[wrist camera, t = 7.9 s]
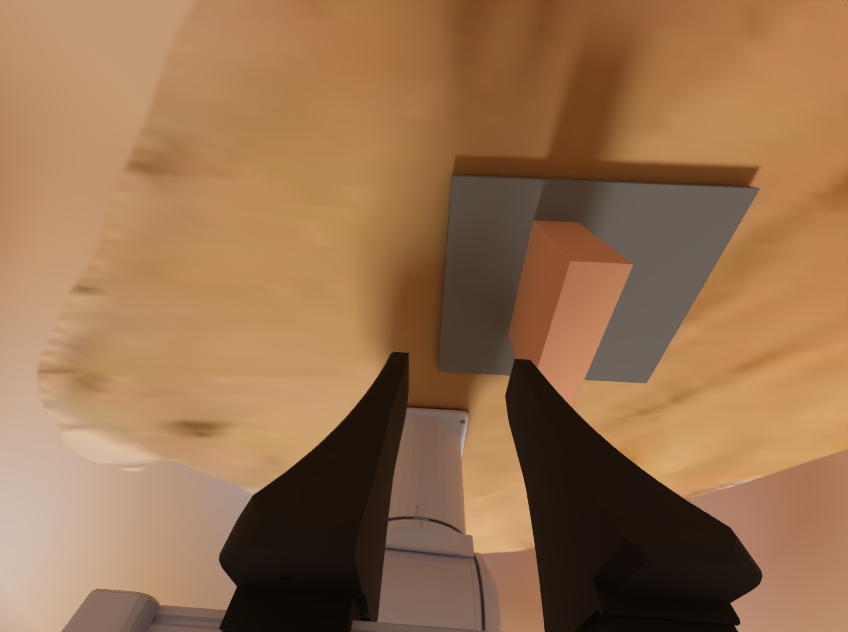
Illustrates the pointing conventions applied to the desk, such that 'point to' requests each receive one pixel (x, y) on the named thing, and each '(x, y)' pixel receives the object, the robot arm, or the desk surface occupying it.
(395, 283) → the desk surface
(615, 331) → the mat
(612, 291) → the slab
